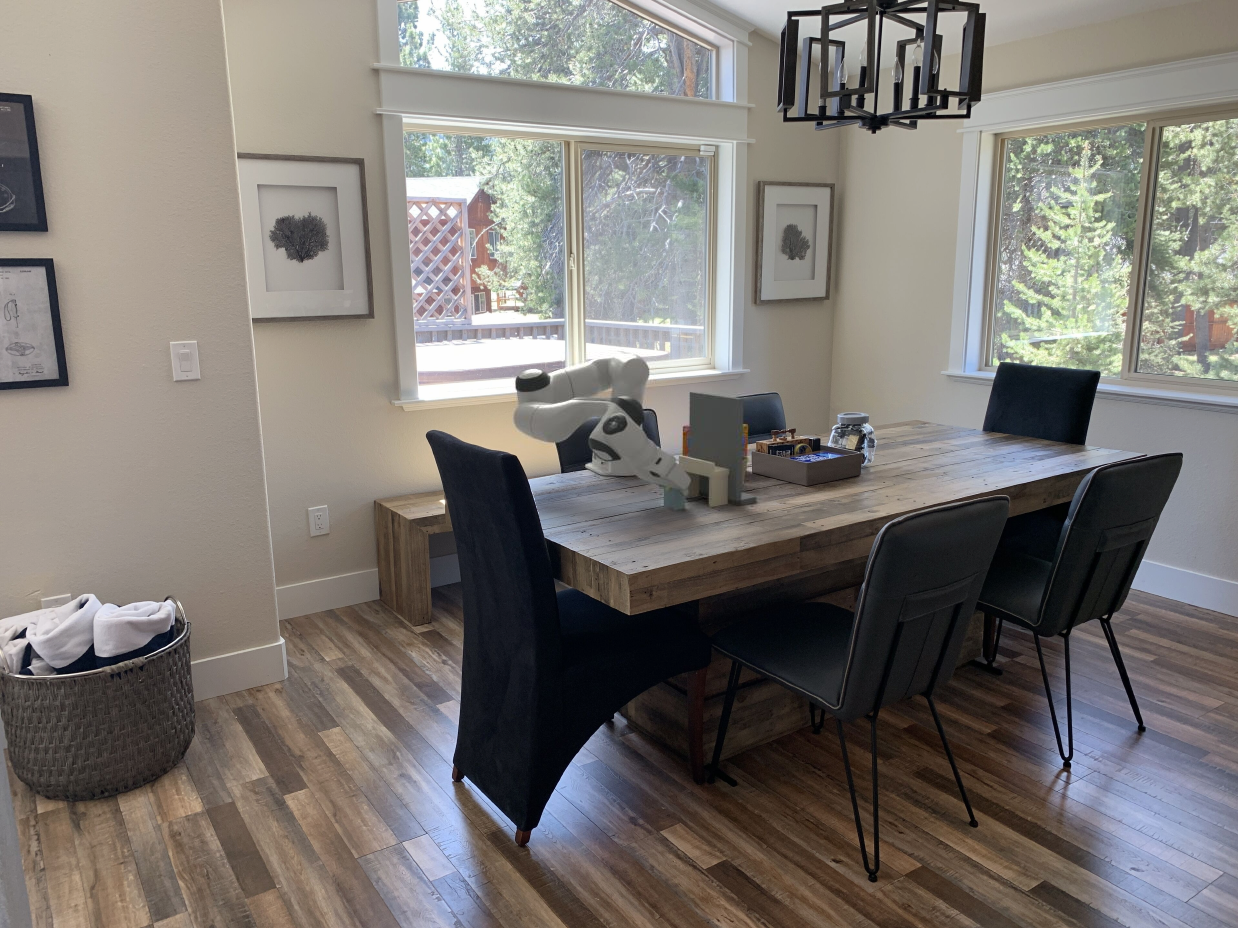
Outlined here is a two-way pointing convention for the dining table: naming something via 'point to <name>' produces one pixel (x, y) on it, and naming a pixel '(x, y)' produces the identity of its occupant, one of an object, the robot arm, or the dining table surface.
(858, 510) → the dining table surface
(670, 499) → the small cabinet
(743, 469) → the flower pot
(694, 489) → the wall board
